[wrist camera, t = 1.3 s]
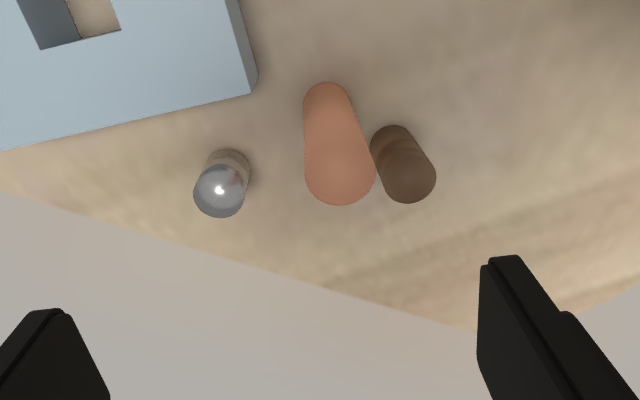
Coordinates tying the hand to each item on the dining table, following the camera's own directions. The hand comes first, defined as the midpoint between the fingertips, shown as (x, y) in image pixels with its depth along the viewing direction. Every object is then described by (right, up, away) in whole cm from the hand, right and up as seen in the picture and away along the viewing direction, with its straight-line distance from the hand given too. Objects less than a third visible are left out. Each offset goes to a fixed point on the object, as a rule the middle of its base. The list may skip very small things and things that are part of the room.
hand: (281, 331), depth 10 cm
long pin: (+1, +10, +21) cm, 23 cm away
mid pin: (+6, +7, +22) cm, 24 cm away
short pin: (-6, +5, +22) cm, 24 cm away
